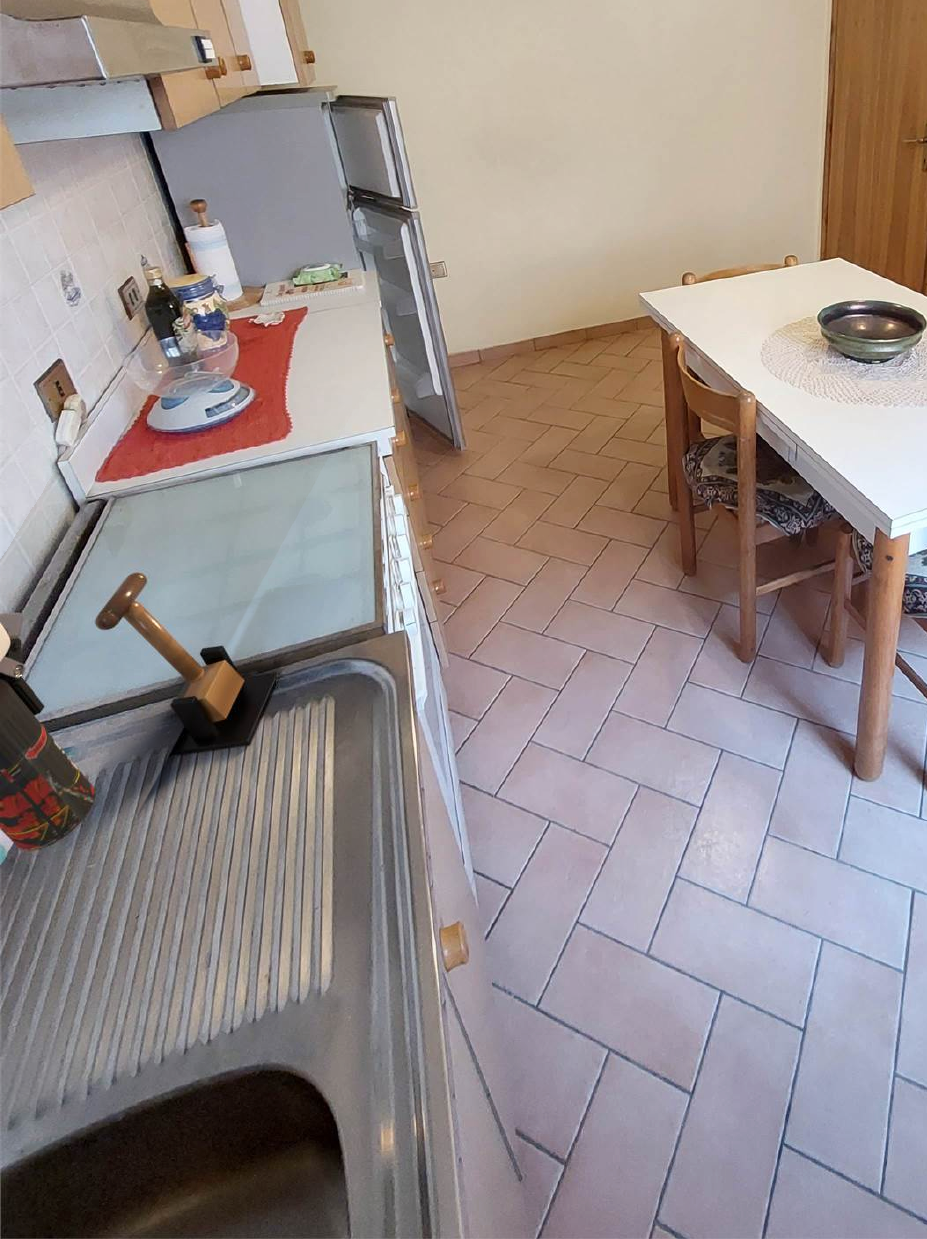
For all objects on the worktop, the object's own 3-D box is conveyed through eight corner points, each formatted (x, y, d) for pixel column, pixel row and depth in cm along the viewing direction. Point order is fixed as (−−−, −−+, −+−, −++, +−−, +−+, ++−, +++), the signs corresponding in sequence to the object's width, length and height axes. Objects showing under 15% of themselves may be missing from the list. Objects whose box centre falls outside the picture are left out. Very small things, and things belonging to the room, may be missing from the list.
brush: (69, 628, 70) (109, 616, 69) (111, 576, 76) (148, 564, 75) (186, 737, 79) (222, 727, 78) (214, 682, 85) (248, 673, 85)
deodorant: (-2, 843, 62) (-107, 739, 54) (62, 776, 67) (-26, 673, 59) (49, 857, 60) (-52, 753, 53) (111, 788, 65) (26, 684, 58)
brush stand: (159, 758, 78) (129, 717, 75) (198, 687, 86) (172, 646, 83) (250, 745, 79) (224, 703, 75) (280, 675, 87) (258, 635, 83)
